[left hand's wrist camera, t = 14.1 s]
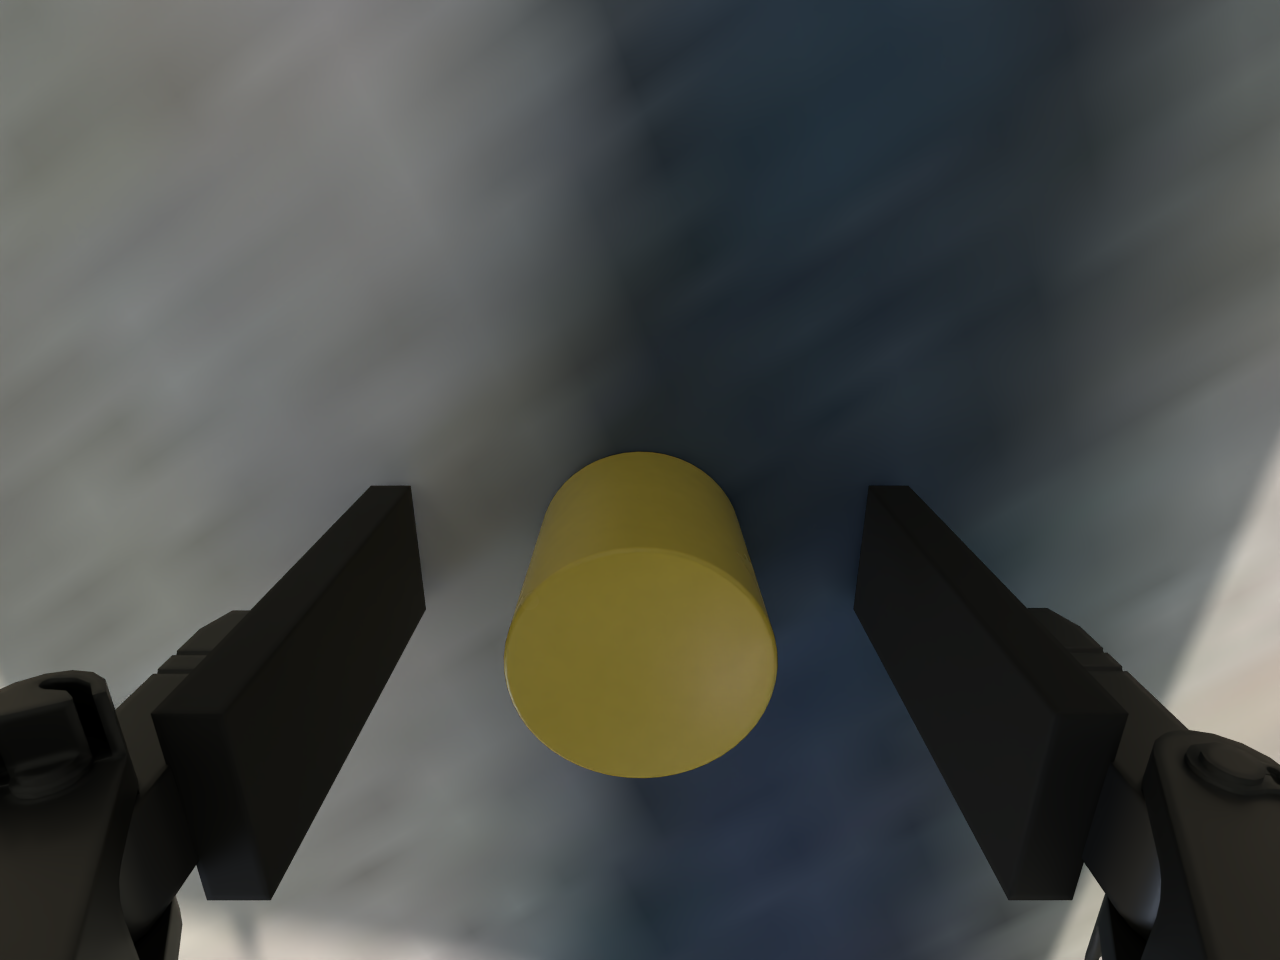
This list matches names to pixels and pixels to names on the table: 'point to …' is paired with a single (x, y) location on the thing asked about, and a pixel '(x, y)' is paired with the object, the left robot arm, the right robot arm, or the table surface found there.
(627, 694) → the can
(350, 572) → the left robot arm
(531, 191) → the table surface
